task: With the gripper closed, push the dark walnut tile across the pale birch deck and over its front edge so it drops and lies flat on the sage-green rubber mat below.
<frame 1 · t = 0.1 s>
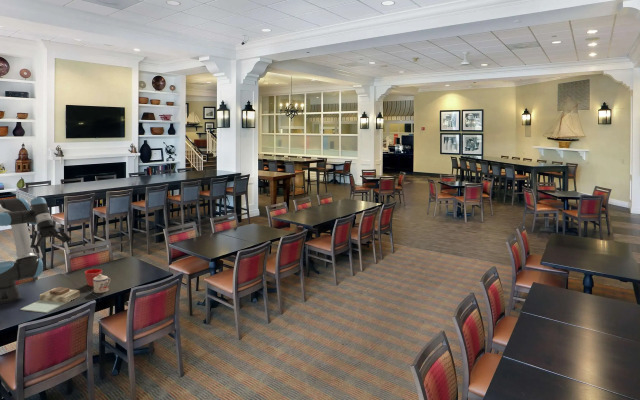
hand: (55, 255, 233), 36 cm above the table, tool tilted 35°, fingers open, 13 cm apart
teacup with lid: (103, 290, 277), on the table
flower pot: (94, 284, 287), on the table
sage mat: (43, 306, 248), on the table
walnut tile: (59, 292, 260), point 4 cm above the table, touching birch deck
birch deck: (60, 298, 261), on the table
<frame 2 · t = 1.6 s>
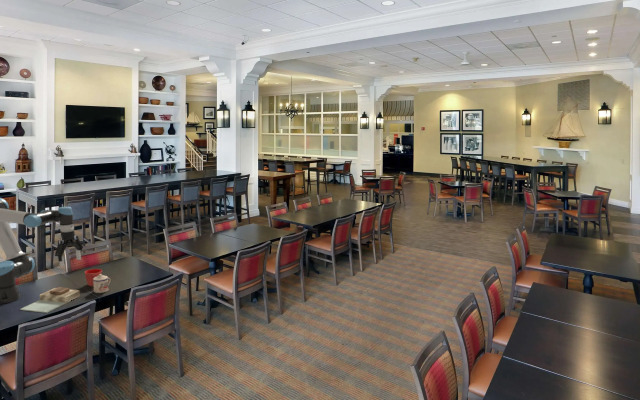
hand: (70, 262, 265), 21 cm above the table, tool pointing down, fingers open, 13 cm apart
nothing on the table moved.
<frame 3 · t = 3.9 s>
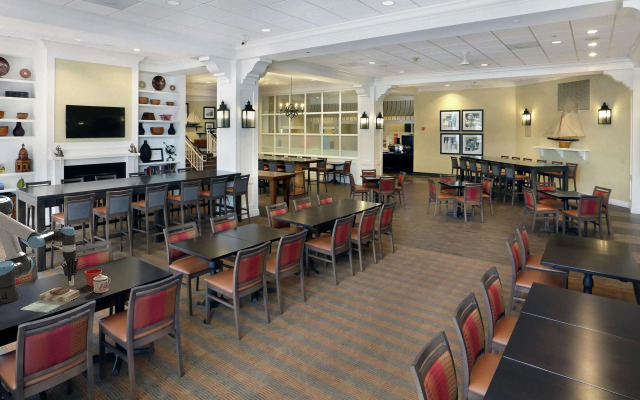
hand: (71, 285, 270), 5 cm above the table, tool pointing down, fingers closed
nothing on the table moved.
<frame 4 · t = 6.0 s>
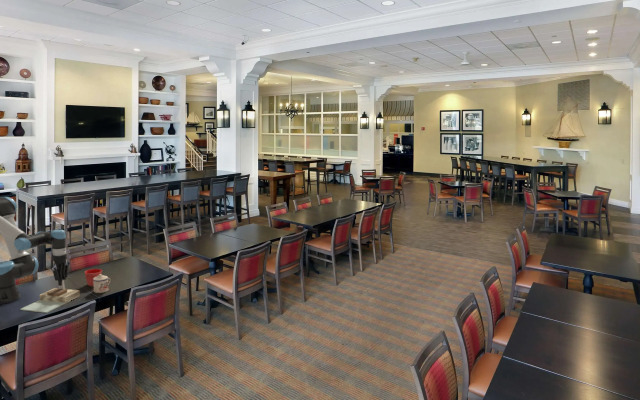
hand: (62, 289, 262), 5 cm above the table, tool pointing down, fingers closed
walnut tile: (57, 293, 258), point 4 cm above the table, touching gripper
everything else where it was.
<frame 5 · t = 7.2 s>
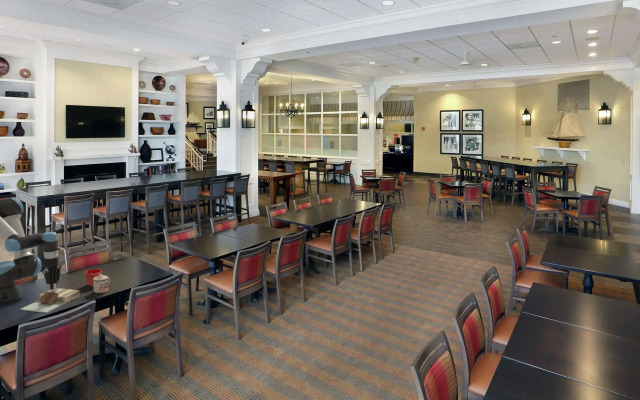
hand: (53, 293, 255), 5 cm above the table, tool pointing down, fingers closed
walnut tile: (49, 299, 253), point 3 cm above the table, tilted 40°, touching gripper
everything else where it was.
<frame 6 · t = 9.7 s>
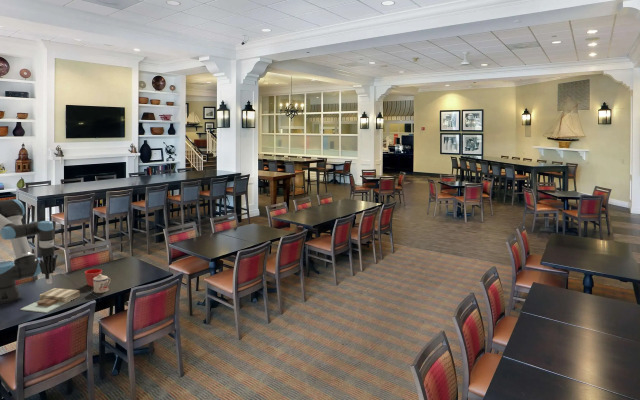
hand: (49, 283, 252), 13 cm above the table, tool pointing down, fingers closed
walnut tile: (48, 303, 251), point 1 cm above the table, touching sage mat
everything else where it was.
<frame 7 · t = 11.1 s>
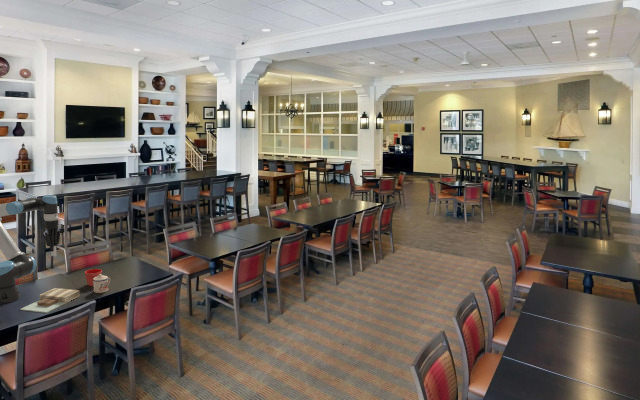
hand: (53, 255, 262), 26 cm above the table, tool pointing down, fingers closed
nothing on the table moved.
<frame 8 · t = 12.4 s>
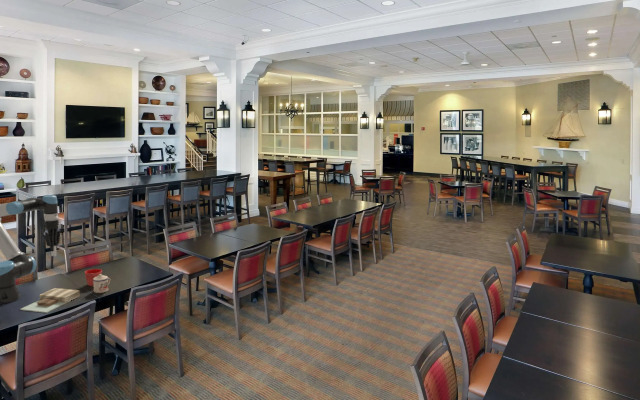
hand: (54, 255, 263), 26 cm above the table, tool pointing down, fingers closed
nothing on the table moved.
at the end: walnut tile inside the target area (3.6 cm from its centre), point 0.6 cm above the table; walnut tile tilted 0° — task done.
